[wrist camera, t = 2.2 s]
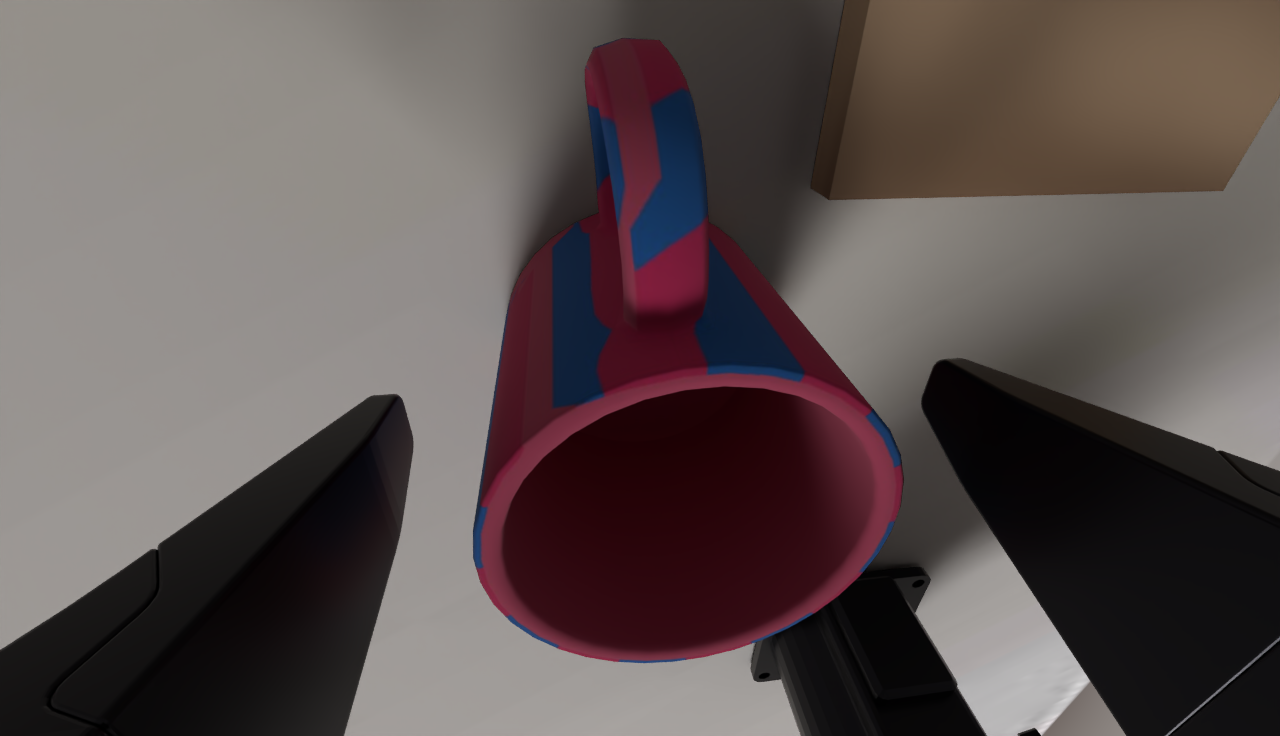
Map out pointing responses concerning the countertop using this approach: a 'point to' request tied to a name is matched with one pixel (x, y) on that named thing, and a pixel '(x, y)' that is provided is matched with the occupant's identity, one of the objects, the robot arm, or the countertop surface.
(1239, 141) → the coaster board
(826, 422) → the mug
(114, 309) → the countertop surface
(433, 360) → the countertop surface
